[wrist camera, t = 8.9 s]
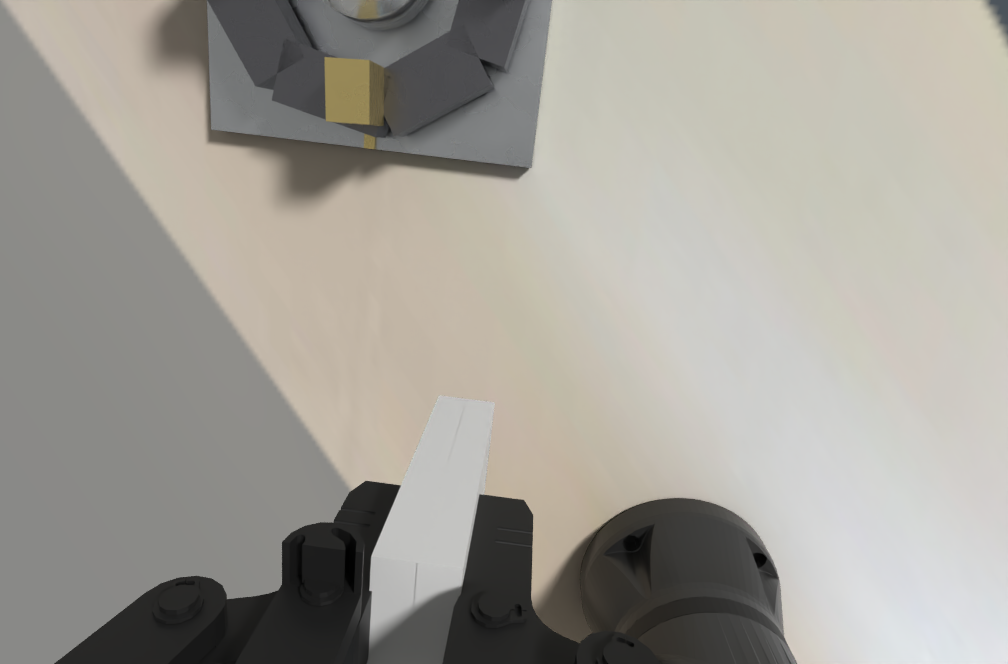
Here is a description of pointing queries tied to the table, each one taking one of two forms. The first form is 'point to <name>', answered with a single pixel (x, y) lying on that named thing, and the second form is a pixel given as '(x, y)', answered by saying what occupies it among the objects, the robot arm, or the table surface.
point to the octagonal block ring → (373, 65)
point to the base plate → (384, 40)
